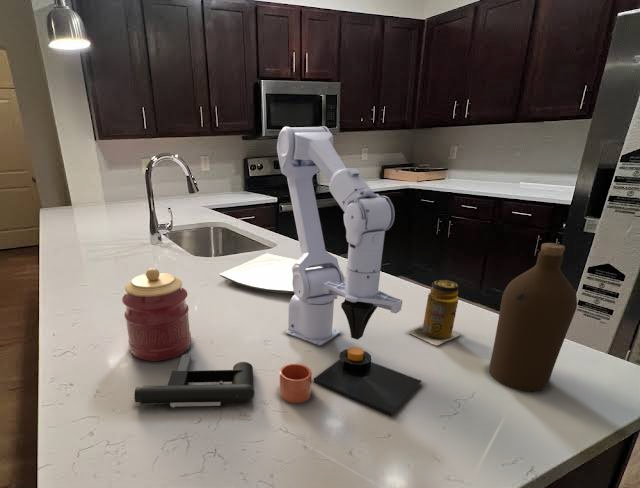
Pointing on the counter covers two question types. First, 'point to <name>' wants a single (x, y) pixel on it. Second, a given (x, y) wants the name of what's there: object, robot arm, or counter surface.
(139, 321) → the kitchen canister
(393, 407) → the scale
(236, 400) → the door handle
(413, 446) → the counter surface
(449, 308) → the condiment
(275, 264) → the plate
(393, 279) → the counter surface
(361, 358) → the button
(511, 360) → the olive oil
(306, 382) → the cup
